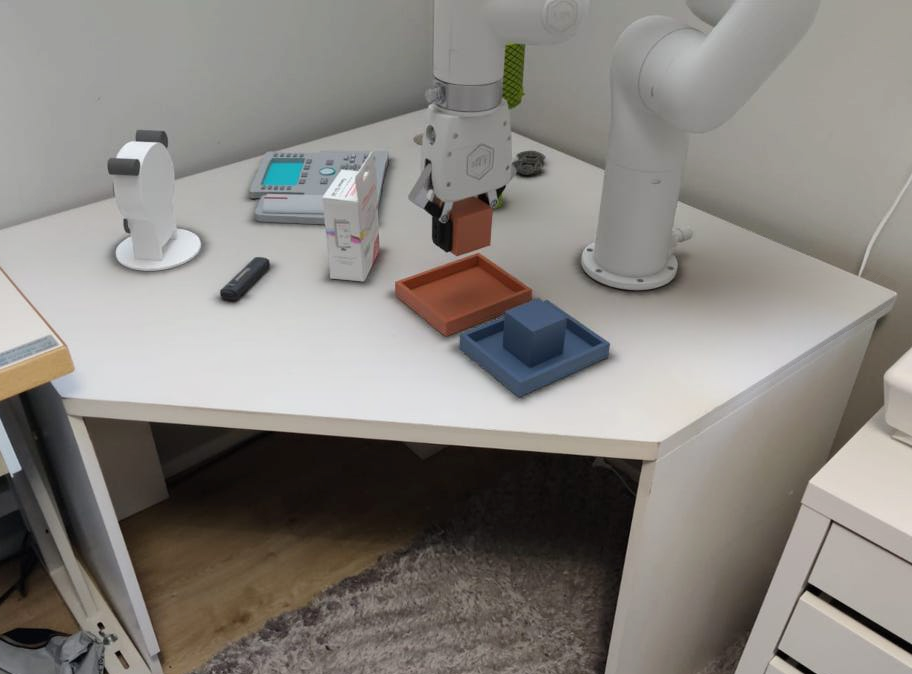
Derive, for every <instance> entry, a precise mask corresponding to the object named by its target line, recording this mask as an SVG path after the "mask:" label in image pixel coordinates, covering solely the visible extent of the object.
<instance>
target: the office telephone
mask: <svg viewBox="0 0 912 674" xmlns="http://www.w3.org/2000/svg"><path fill="white" fill-rule="evenodd" d="M371 152H373V156H374V163H375V170H376V179H377V202H378V208H379V206H380V201H381V195H382V189H383V184H384V178H385V173H386V170H387V168H388V163H389V158H390V157H389V155H390V154H389V153H390V152H389V151H387V150H339V149H338V150H332V149H331V150H329V149H328V150H320V151H318V152H293V151H291V152H289V151H285V152H283V151H271V150H270V151H266V152H265V154H264V156H263V158H262V160H261V162H260V164H259V166H258V169H257V171H256V172H255V175H254V177H253V180H252V182H251V183H250V184H251V185H250V187H249V196H250V198H251V199H259V200H258V202H257V204H256V208H255V210H254V218H255V221H257V222H261V223H262V222H263V223H280V224H281V223H282V224H283V223H285V224H304V225H325V218H324V208H323V200H322V197H323V196H324V194H325V193H326V191H327V190H328V188H329V187H330V186H331V184H332V183H333V181H334V180H335V178H336V177H337V175H338V174H339V172H340V171H341V170H351V171H359V170H360V168H361V166H362V165H363V163H364V162H365V160H366V159H367V157H368V156H369V154H370V153H371ZM365 172H368V169H367V170H365Z"/></svg>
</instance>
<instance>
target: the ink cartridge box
mask: <svg viewBox="0 0 912 674" xmlns="http://www.w3.org/2000/svg"><path fill="white" fill-rule="evenodd" d="M367 169H368V172H365V170H367ZM322 200H323V208H324V218H325V224H324V228H325V237H326V246H327V247H326V248H327V257H328V266H329V278H330V279H334V280H343V281H351V282H352V281H353V282H365V281H366V280H367V277H368V275H369V273H370V271H371V269H372V267H373V265H374V263H375V261H376V259H377V257H378V254H379V252H380V249H381V247H380V227H379V225H380V224H379V207H378V202H377V179H376V170H375V163H374V156H373V152H371V153H370V154H369V156H368V157H367V159H366V160H365V162H364V163H363V165H362V166H361V168H360V170H359V171H351V170H341V171H340V172H339V174H338V175H337V177H336V178H335V180H334V181H333V183H332V184H331V186H330V187H329V188H328V190H327V191H326V193H325V194H324V196H323V197H322Z"/></svg>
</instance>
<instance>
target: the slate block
mask: <svg viewBox="0 0 912 674" xmlns="http://www.w3.org/2000/svg"><path fill="white" fill-rule="evenodd" d="M544 301H545V300H543V299H541V298H540V297H537V298H535V299H531V301H530V302H527V303H524V304H522V305H519V306H517V307H514V308H512V309H509V310H507V311H505V313H504V315H503V317H504V332H503V348H505V349H506V350H507V351H508V352H510V353H511V354H512V355H514V356H515V357H516V358H517V359H519V360H520V361H521V362H522V363H524V364H525V365H526V366H528V367H529V368H531V367H533V366H536V365H538V364H540V363H542V362H545V361H547V360H549V359H552V358H554V357H556V356H558V355H561V354H563V349H564V341H565V332H566V323H567V317H565V316H564V315H563V314H561V313H560V312H558V311H557V310H555V309H554V308H552V307H551V306H550V305H548V304H547V303H545V302H544Z"/></svg>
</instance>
